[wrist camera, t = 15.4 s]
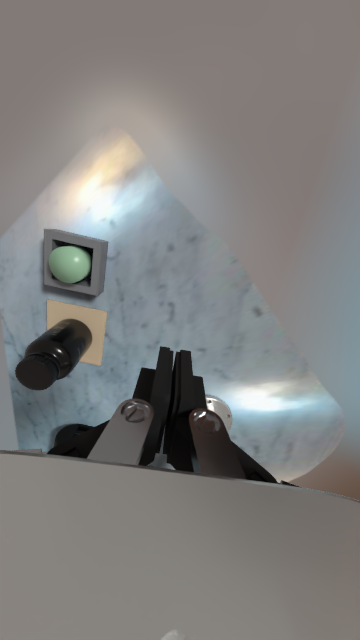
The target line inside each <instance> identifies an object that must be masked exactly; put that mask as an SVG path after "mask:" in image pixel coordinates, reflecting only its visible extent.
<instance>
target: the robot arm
mask: <svg viewBox="0 0 360 640" xmlns="http://www.w3.org/2000/svg"><path fill="white" fill-rule="evenodd" d="M173 352H174V351H170V348H167V347H161V346H160V351H159V356H158V361H157V367H156V370H155V369H148V368H141V371H140V375H139V378H138V381H137V385H136V388H135V391H134V394H133V398H132V399H129V400H125V401H124V402H122V403H121V404H120V405H119V406H118V408H117V409H116V411H115V413H114V414H113V416H112V418H111V419H110V420H108V421H106V422H104V423H102V424H100V425H98V426H96V427H94V428H92V429H90V430H88V431H86V432H84V433H81V434H79V435H77V436H75V437H73V438H71V439H69V440H67V441H65V442H63V443H61V444H59V445H57V446H55V447H54V448H52V449H51V450H50V451H49V452H42V449H29V450H16V451H5V450H0V640H360V501H358V500H355V499H352V498H349V497H345V496H341V495H338V494H334V493H329V492H323V491H318V490H312V489H307V488H302V487H299V486H296V485H294V484H290V483H288V482H285V481H282V480H281V482H280V483H278V482H277V481H276V479H275V478H274V477H273V476H272V475H271V474H270V473H269V472H268V471H267V470H265V469H264V468H263V467H262V466H261V465H259V464H258V463H257V462H256V461H255V460H253V459H252V458H251V457H250V456H249V455H248V454H246V453H245V452H244V451H243V450H242V449H240V448H239V447H238V446H237V445H236V444H234V443H233V442H232V441H231V439H230V437H229V434H228V431H229V430H230V428H231V425H232V415H231V411H230V409H229V407H228V406H227V404H226V403H225V402H224V401H222V400H221V399H219V398H217V397H214V396H210V395H205V390H204V384H203V378H202V377H199V376H193V372H192V361H191V351H186V350H180V352H176V356H175V361H174V366H173ZM172 367H173V371H172ZM164 428H165V434H164V446H163V454H167V463H169V464H171V465H172V466H173V467H174V468H175V469H176V470H171V469H164V468H156V467H148V466H147V465H148V464H149V463H151V462H152V461H154V458H155V453H159V452H160V447H161V442H162V437H163V432H164Z"/></svg>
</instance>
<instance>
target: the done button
mask: <svg viewBox="0 0 360 640" xmlns="http://www.w3.org/2000/svg"><path fill="white" fill-rule="evenodd" d="M92 261H93V260H92V257H91V255H90V254H89V253H88V252H87V251H86V250H85V249H84V248H82V247H80V246H65V247H58V248H56V249H54V250H53V251H52V252H51V254H50V256H49V267H50V270H51V272H52V273H53V275H54V276H55V277H56V278H57V279H59V280H60V281H62V282H65V283H75V282H77V281H80V280H82V279H84V278H86V277H88V276H89V275H90V274H91V272H92Z"/></svg>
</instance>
